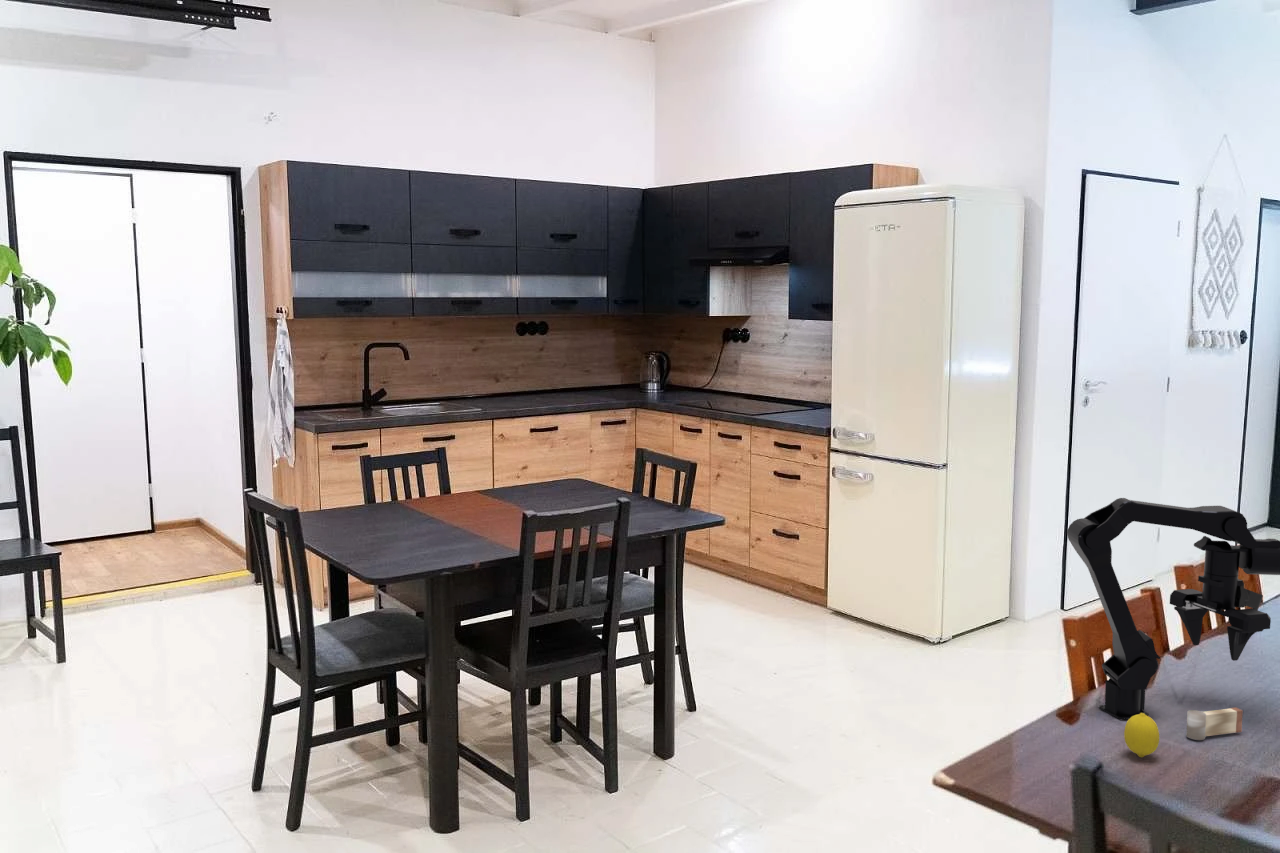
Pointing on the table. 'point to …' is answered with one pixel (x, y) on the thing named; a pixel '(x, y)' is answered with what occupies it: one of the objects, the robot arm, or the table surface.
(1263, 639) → the table surface
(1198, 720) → the cream brown-tipped bar
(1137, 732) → the lemon
